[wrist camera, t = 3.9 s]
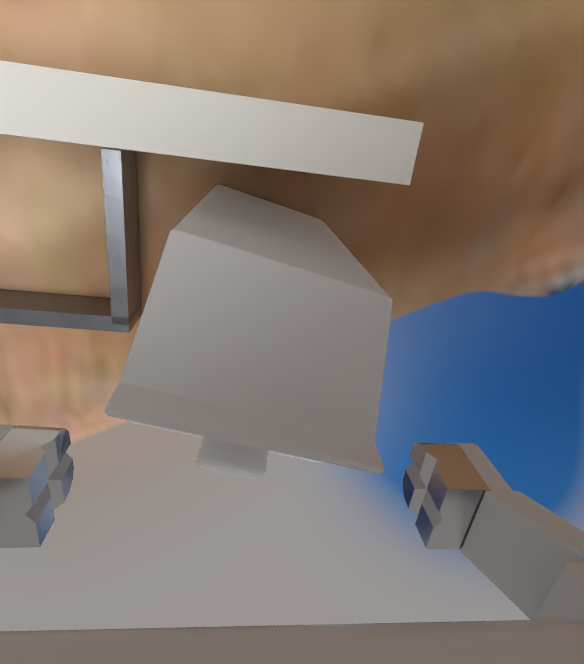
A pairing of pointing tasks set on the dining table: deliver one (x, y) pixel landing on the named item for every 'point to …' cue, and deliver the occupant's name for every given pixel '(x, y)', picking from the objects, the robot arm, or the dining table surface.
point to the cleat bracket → (121, 262)
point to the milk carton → (259, 340)
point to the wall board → (204, 124)
